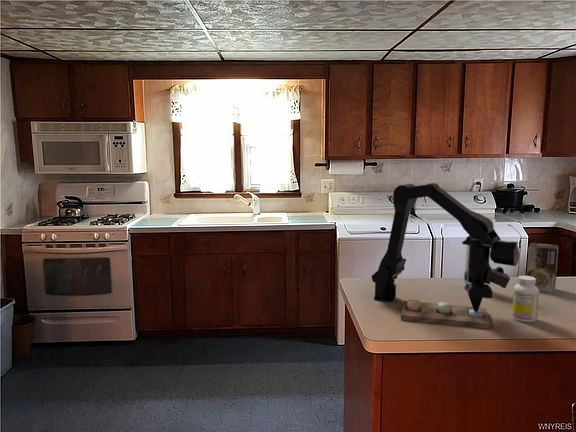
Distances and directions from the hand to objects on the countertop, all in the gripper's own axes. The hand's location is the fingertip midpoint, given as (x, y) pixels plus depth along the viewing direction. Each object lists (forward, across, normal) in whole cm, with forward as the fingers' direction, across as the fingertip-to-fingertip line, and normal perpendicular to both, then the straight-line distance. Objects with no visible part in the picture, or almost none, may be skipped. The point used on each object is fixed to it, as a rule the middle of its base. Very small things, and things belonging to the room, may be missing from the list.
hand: (475, 310), depth 138 cm
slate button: (+2, 0, 0) cm, 2 cm away
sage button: (+1, 0, +9) cm, 9 cm away
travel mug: (+3, +30, -2) cm, 30 cm away
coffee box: (+3, +36, -25) cm, 44 cm away
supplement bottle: (+3, +4, -14) cm, 15 cm away
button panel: (+3, 0, +9) cm, 9 cm away
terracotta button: (+1, 0, +18) cm, 18 cm away
